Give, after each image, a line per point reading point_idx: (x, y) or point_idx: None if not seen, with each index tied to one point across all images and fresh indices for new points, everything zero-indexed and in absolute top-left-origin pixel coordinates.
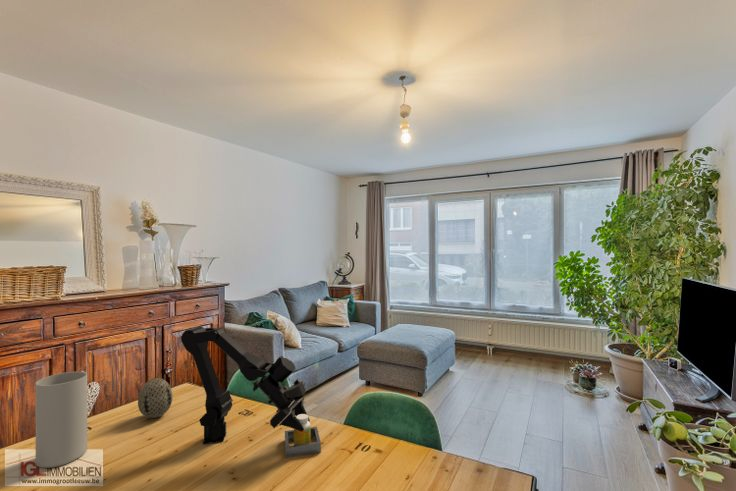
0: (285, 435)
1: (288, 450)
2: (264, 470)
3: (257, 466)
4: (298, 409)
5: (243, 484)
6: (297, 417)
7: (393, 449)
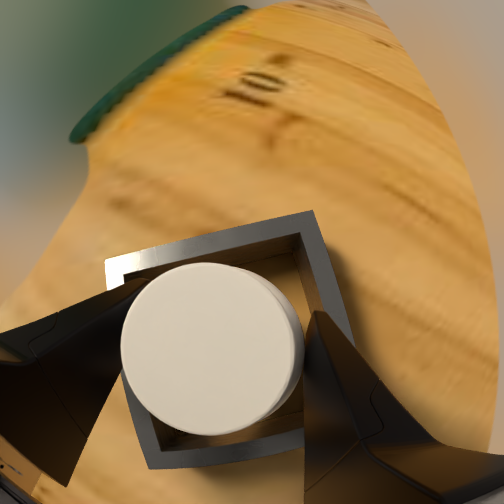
0: (208, 462)
1: None
2: None
3: None
4: (49, 407)
5: None
6: (233, 414)
7: (271, 38)
